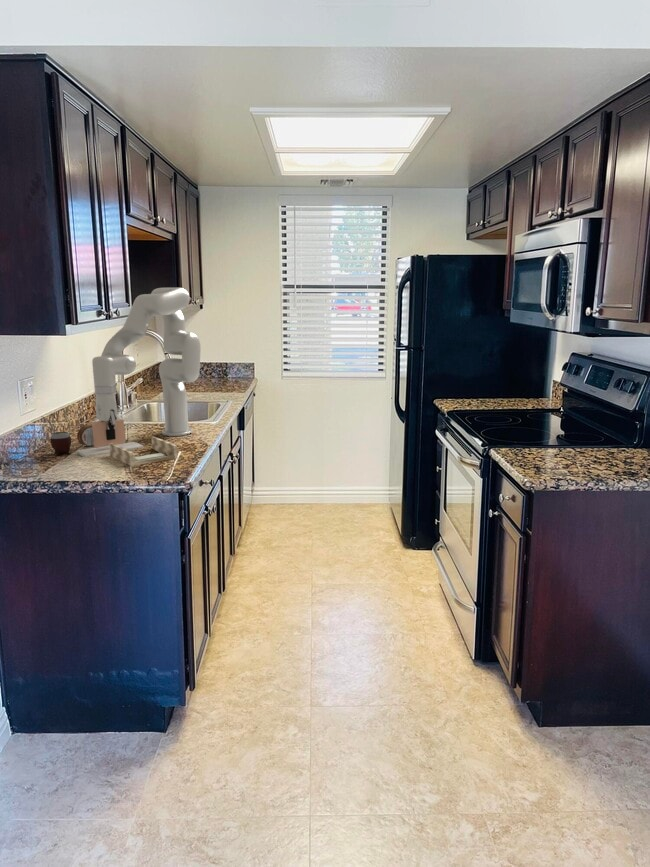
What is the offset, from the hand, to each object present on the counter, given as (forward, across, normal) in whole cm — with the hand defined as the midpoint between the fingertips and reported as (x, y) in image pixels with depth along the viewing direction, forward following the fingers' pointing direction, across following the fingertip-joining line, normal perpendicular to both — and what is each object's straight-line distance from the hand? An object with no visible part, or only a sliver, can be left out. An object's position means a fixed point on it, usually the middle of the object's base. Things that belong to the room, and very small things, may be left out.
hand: (109, 438), depth 232 cm
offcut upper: (+4, +24, +5) cm, 25 cm away
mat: (+5, 0, 0) cm, 5 cm away
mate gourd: (+5, -7, -16) cm, 18 cm away
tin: (+5, -14, 0) cm, 15 cm away
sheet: (+2, 0, 0) cm, 2 cm away
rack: (+5, +19, +5) cm, 20 cm away
